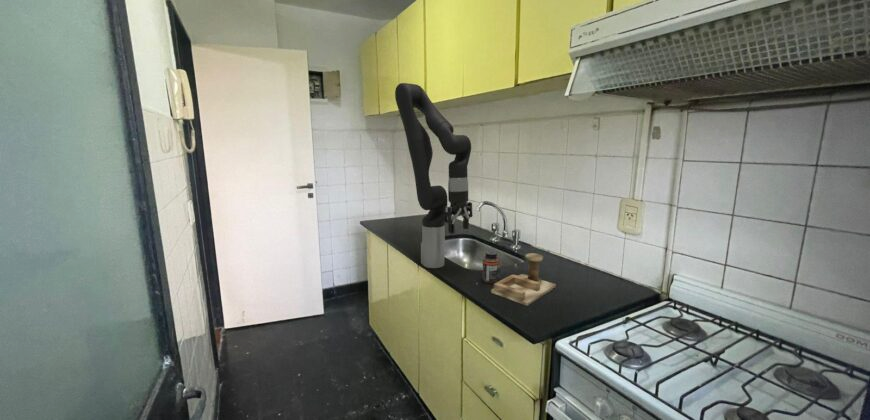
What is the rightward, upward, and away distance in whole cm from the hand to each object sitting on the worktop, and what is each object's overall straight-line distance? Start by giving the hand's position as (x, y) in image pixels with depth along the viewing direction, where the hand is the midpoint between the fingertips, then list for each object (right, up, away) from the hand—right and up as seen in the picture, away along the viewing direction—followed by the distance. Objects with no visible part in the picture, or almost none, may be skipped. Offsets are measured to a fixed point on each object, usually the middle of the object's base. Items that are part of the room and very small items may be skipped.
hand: (458, 231), depth 136 cm
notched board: (+22, -20, -11) cm, 32 cm away
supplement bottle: (+12, -19, -3) cm, 22 cm away
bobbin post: (+26, -19, -7) cm, 33 cm away
